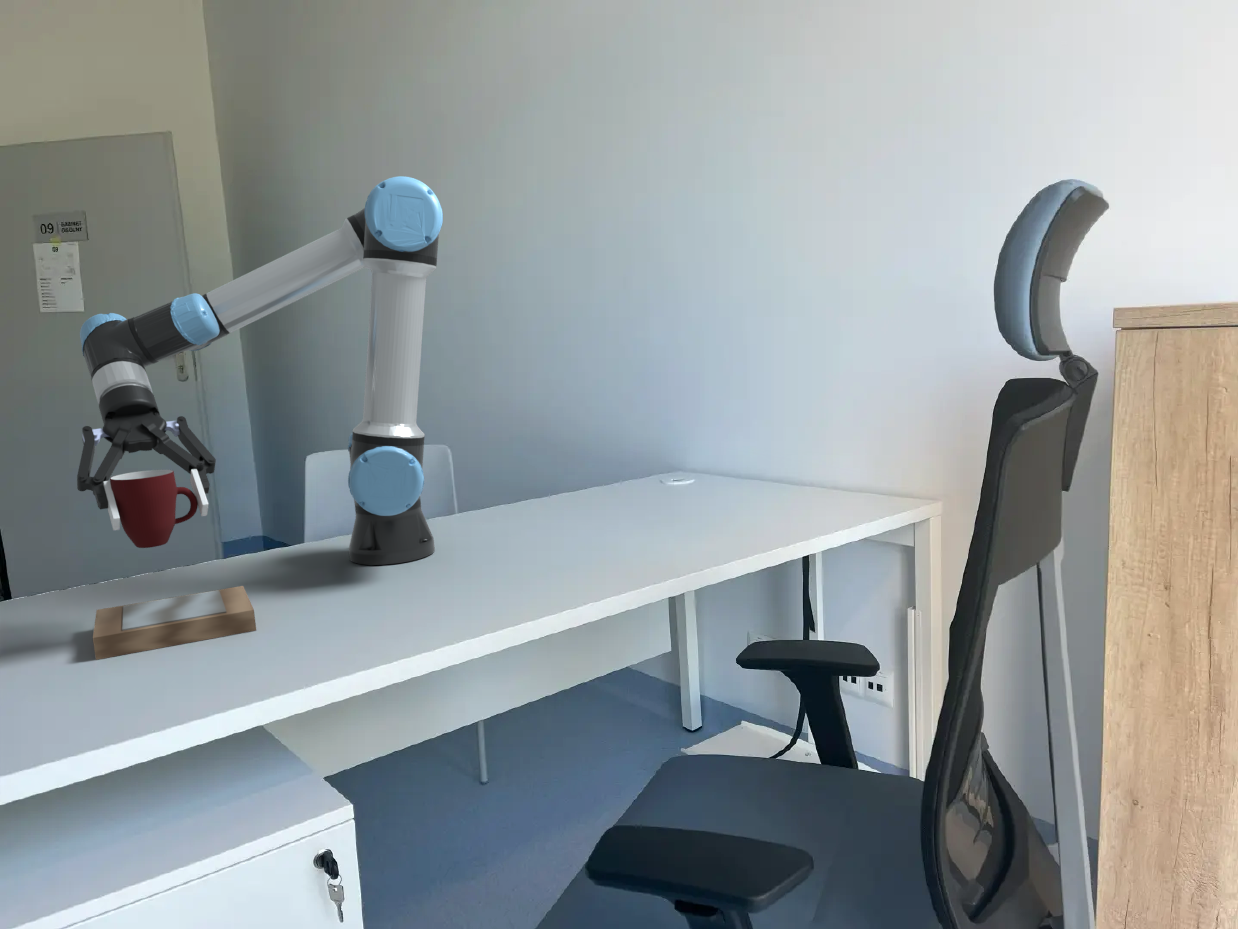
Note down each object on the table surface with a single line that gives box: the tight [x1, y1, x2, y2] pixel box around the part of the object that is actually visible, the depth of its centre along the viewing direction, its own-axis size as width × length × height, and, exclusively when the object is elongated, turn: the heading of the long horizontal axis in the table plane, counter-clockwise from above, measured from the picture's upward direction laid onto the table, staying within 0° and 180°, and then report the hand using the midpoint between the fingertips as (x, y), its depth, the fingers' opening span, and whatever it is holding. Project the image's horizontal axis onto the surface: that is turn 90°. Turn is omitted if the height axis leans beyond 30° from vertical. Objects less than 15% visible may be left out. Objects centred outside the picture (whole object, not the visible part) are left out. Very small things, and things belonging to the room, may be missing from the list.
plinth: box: [92, 585, 257, 661], centre depth 138 cm, size 20×15×3 cm
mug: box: [109, 469, 199, 549], centre depth 135 cm, size 11×8×10 cm
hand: (161, 517), depth 133 cm, fingers closed on mug, 11 cm apart
